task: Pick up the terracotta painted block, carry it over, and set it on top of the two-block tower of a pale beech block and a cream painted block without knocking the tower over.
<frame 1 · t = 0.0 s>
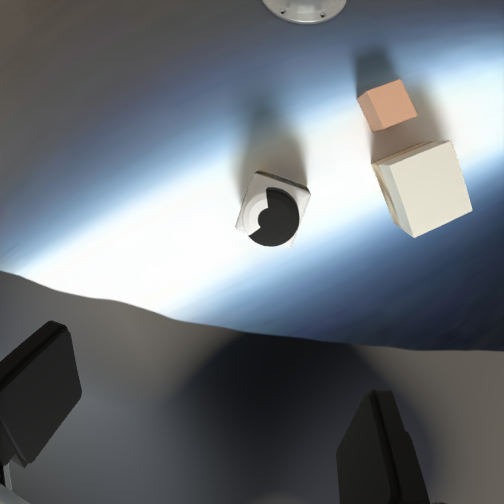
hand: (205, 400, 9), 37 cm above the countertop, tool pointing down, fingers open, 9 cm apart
cream block: (420, 184, 37), point 4 cm above the countertop, touching beech block
terracotta block: (379, 109, 39), on the countertop
medicine bottle: (275, 202, 44), on the countertop
beech block: (409, 181, 41), on the countertop, touching cream block
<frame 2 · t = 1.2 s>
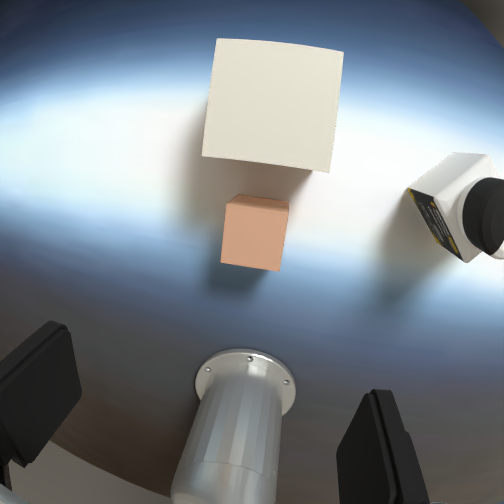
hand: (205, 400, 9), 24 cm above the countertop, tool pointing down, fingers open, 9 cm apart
cream block: (275, 108, 25), point 4 cm above the countertop, touching beech block
terracotta block: (259, 222, 32), on the countertop
medicine bottle: (445, 197, 29), on the countertop
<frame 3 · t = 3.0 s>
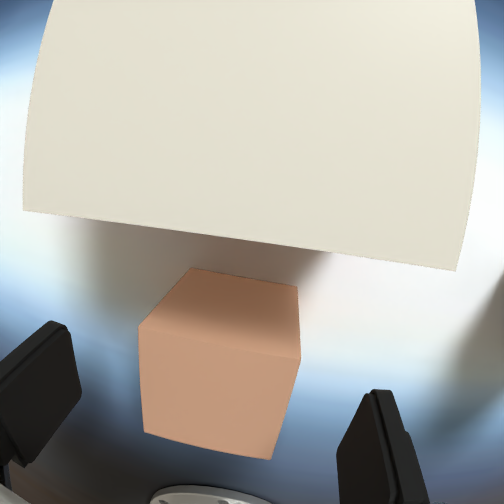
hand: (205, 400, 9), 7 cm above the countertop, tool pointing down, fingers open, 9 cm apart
cream block: (263, 61, 9), point 4 cm above the countertop
terracotta block: (236, 324, 16), on the countertop
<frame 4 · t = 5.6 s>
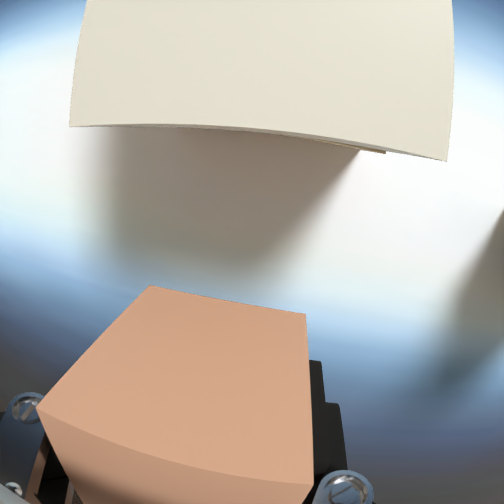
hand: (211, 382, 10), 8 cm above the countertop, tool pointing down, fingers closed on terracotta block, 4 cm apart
cream block: (274, 15, 9), point 4 cm above the countertop
terracotta block: (217, 363, 11), point 7 cm above the countertop, touching gripper
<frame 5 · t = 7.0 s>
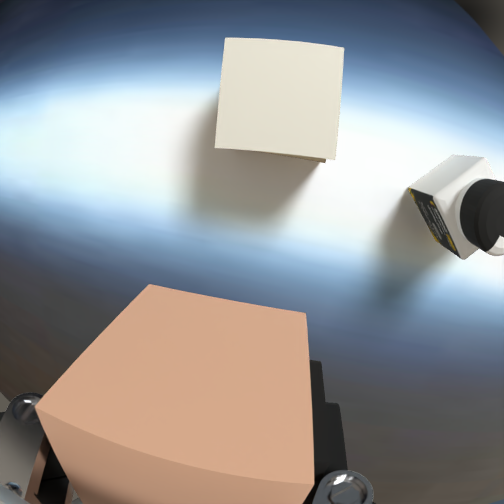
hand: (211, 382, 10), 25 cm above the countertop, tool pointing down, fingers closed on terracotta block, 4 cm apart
cream block: (281, 103, 26), point 4 cm above the countertop, touching beech block
terracotta block: (217, 362, 11), point 24 cm above the countertop, touching gripper
medicine bottle: (444, 197, 31), on the countertop
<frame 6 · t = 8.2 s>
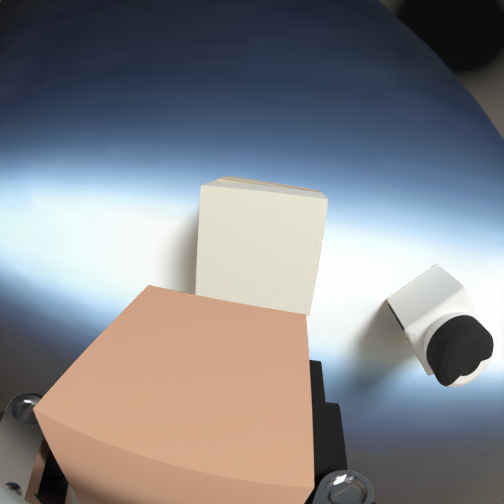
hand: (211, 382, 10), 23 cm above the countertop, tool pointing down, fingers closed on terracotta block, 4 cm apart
cream block: (262, 238, 28), point 4 cm above the countertop, touching beech block
terracotta block: (217, 364, 11), point 22 cm above the countertop, touching gripper
medicine bottle: (422, 303, 32), on the countertop
beech block: (266, 227, 32), on the countertop, touching cream block
when the fingers open (11 cm above the countertop, at t = 10.2 s): terracotta block drops 2 cm, resting on cream block.
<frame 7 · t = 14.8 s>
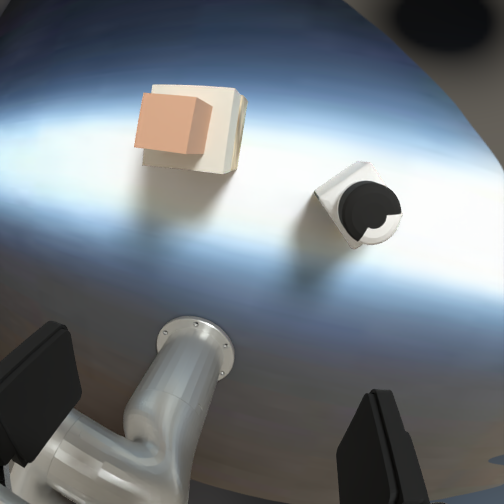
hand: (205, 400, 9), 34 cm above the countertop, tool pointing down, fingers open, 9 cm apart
cream block: (197, 129, 35), point 4 cm above the countertop, touching beech block, terracotta block
terracotta block: (185, 126, 31), point 9 cm above the countertop, touching cream block
medicine bottle: (350, 197, 40), on the countertop
beech block: (208, 130, 39), on the countertop, touching cream block
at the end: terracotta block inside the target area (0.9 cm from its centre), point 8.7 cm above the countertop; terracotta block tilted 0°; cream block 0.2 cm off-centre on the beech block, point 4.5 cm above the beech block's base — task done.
